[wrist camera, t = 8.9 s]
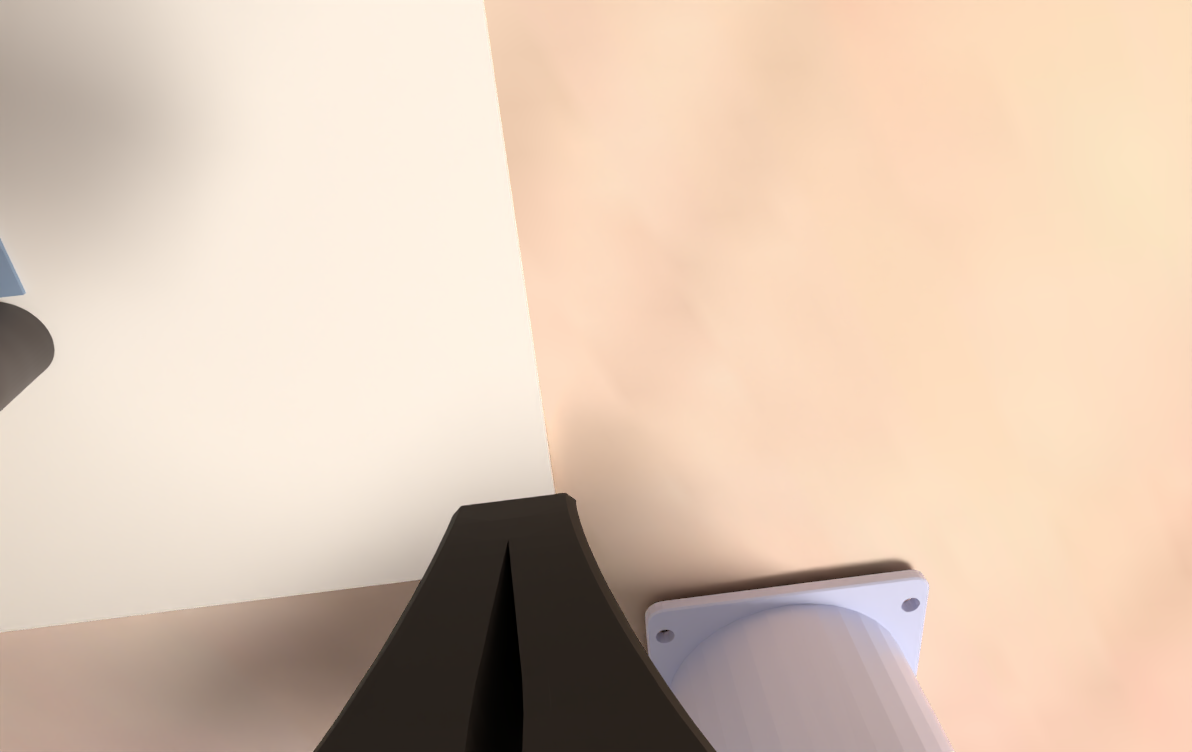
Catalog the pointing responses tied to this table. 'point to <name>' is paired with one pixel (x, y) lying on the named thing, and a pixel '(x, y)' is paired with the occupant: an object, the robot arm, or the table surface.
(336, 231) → the card
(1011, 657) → the table surface
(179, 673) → the table surface
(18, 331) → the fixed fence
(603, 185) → the table surface
